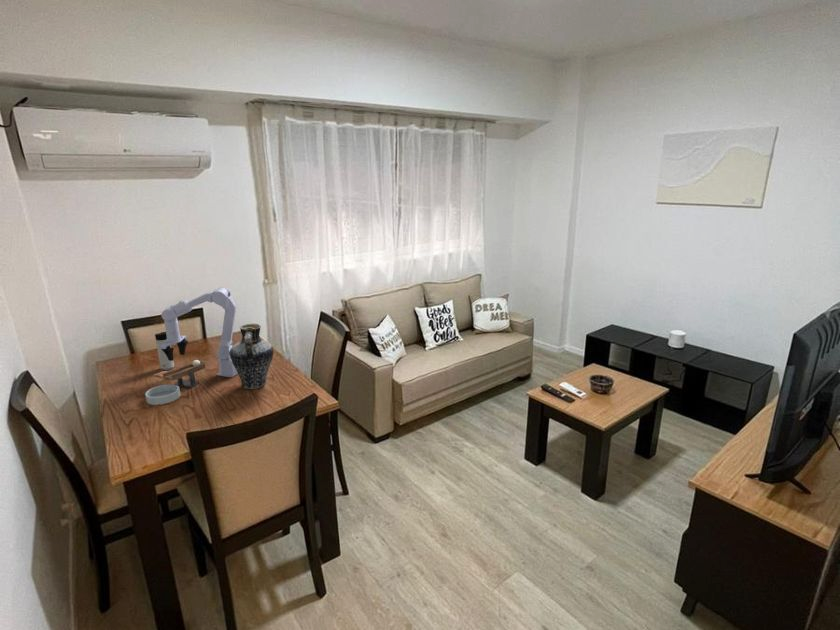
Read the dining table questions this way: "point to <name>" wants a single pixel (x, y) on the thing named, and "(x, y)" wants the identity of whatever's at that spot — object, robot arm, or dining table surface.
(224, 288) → the robot arm
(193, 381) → the stand
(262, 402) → the dining table surface
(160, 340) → the travel mug
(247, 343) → the jug
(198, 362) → the ball
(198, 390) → the dining table surface
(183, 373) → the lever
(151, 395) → the bowl
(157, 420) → the dining table surface
